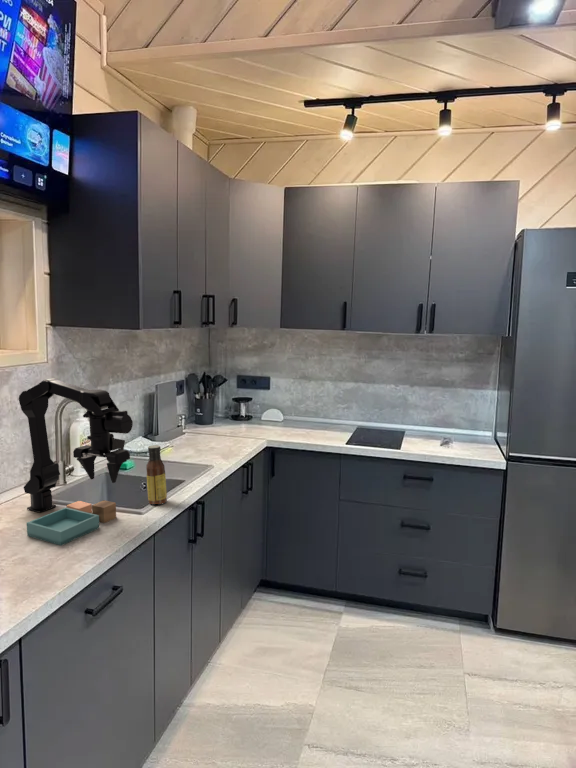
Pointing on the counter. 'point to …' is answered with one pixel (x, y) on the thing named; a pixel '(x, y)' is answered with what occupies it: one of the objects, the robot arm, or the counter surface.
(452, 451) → the counter surface
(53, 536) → the tote
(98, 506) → the walnut block
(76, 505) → the terracotta carton
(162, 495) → the sauce bottle
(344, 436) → the counter surface
